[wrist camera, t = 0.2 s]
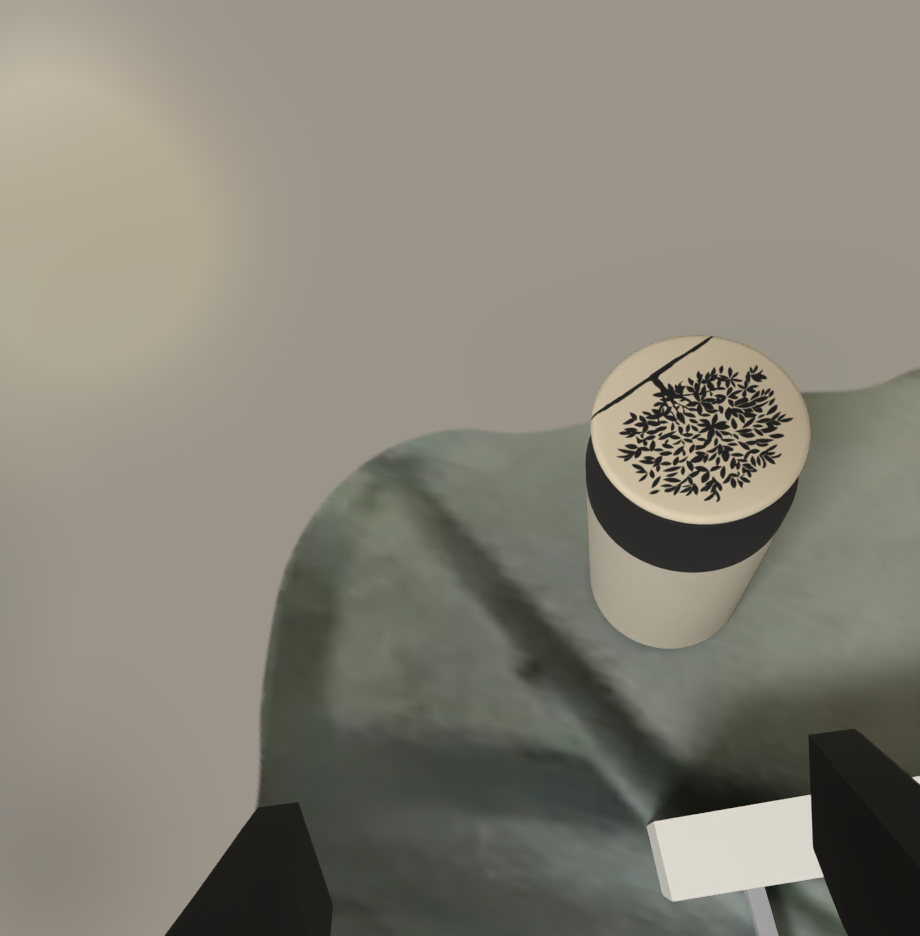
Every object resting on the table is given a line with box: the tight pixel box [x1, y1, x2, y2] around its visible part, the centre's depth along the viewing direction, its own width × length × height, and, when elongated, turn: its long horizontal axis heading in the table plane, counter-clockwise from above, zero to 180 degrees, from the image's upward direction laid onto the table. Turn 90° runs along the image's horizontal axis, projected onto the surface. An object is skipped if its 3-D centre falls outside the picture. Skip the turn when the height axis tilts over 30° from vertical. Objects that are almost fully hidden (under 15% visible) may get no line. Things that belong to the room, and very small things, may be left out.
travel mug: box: [586, 335, 811, 649], centre depth 36 cm, size 8×8×18 cm
